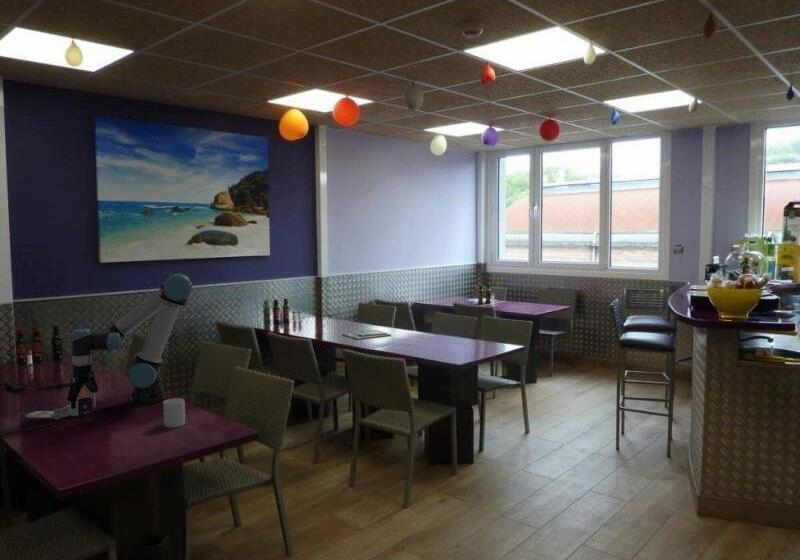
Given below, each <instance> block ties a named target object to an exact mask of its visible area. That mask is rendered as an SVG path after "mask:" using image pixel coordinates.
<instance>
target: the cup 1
mask: <svg viewBox="0 0 800 560" xmlns="http://www.w3.org/2000/svg"><path fill="white" fill-rule="evenodd" d="M80 398H81V399H77V400H76V401H78V416H77V417H78V418H79V417H80V418H83V417H84V418H85V417H90V416H92V415H94V407H93V398H89V397H80Z"/></svg>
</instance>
